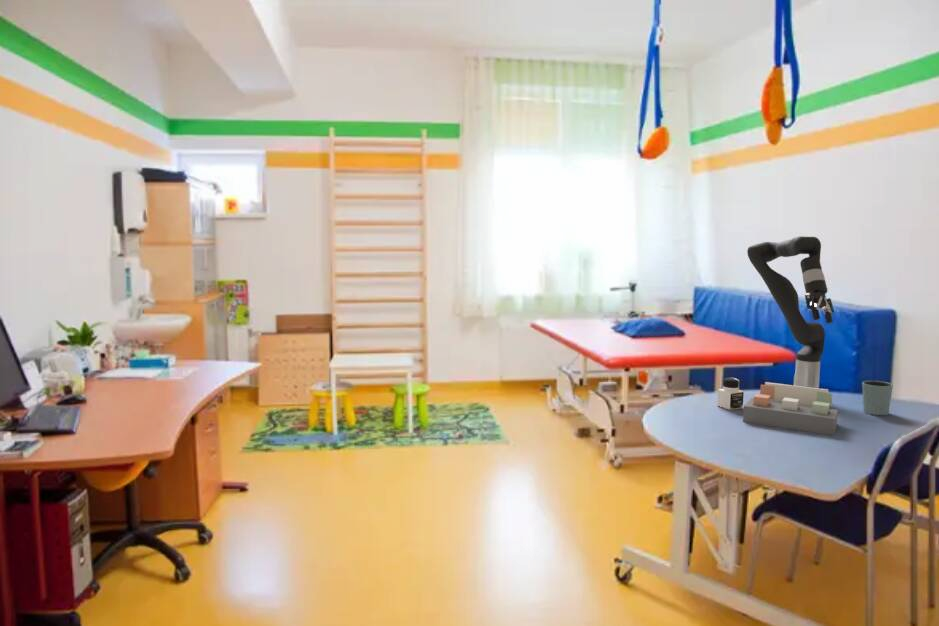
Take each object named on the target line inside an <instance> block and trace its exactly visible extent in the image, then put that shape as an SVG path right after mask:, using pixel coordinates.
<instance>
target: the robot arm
mask: <svg viewBox="0 0 939 626" xmlns="http://www.w3.org/2000/svg"><path fill="white" fill-rule="evenodd" d="M821 250H822V243H821V241H820V239H819V237H816V236H795V237H793V238H791V239H787V240H783V241H779V242H776V241H775V242H774V241H764V242H759V243H756V244H752V245H750V246H748V247H747V251H746V252H747V253H746V255H747V257H748V259H749V262H750V263H751V264H752V266H753V267H754V268H755V270H756V271H757V273H758V274H759V275H760V277H761V279H762V280H763V281H764V283H765V285H766V287H767V289H768V291H769V293H770V294H771V296H772V298H773V299H774V301H775V302H776V304H777V306H778V307H779V310H780V312H781V313H782V315H783V316H784V318H785V320H786V322H787V324H788V325H787V326H788V327H789V329H790V332H791V334H792V336H793V338H794V339H795V341H796V342H797V343H798V344H800V345H802V348H800V350H798V351H797V352H796V354H795V355H796V356H795V368H794V369H795V370H794V371H795V373H794V376H793V383H792V384H793V385H794V386H802V387H811V388H819V387H820V375H821V373H820V372H821V371H820V370H821V358H822V356H823V353H824V350H825V343H826V342H825V341H826V339H825V338H826V332H825V328H824V326H823V325H822V324H821V323H820V322H818V320H820V319H821V316H820V311H822V313H823V314H824V319H825V322H826V324H832V323H833V322H834V321H833V317H832V313H835V311H834V306H833V302H832V299H831V298H830V297H829V298H827V297H826V294H827V293H828V291H829V290H828V285H827V282H826V279H825V274H824V271H823V268H822V264H821ZM799 255H808V257H805V258H802V259H801V260H800V261H799V262H800V264H799V265H800V269H801V273H802V281H803V286H804V289H805V294H804V296H805V297H804V298H805V303H806V308H807V309H808V310H809V309H810V311H811V313H812V318H813V320H814V321H812V322H811V321H810V322H807V321H806V320H805V318H804V316H803V315H802V313H801V311H800V308H799V307H800V305H799V302H800V301H799V294H798V292H797V290H796V288H795V287H794V285H793V283H792V282H791V280H790V279H788V278H787V277H786V276H784V275H782V274H781V273H779V272H777V271H776V270H774V269H773V268H772V267H771V266H769V264H768V263H769V262H772V261H774V260H775V259H779V258H781V257H782V258H789V257H790V258H791V257H795V256H799ZM819 309H820V311H819ZM816 321H817V322H816ZM819 389H820V388H819Z"/></svg>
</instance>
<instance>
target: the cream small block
mask: <svg viewBox="0 0 939 626" xmlns="http://www.w3.org/2000/svg"><path fill="white" fill-rule="evenodd" d="M782 409H789V410H796V411H798V409H799V399H793V398H784V399H783V400H782Z"/></svg>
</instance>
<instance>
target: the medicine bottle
mask: <svg viewBox="0 0 939 626" xmlns="http://www.w3.org/2000/svg"><path fill="white" fill-rule="evenodd" d="M722 382H723V383H722V388H719V389H717V402H716V403H717V404H716V405H717V407H719V406H720V407H719V408H722V407H723V408H722V409H726V410H729V411H732V410H738V409H739V410H741V409H744V395H745V394H744V391H743V390H740V380H739V379H737V378H735V377H725V378H723V380H722Z"/></svg>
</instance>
